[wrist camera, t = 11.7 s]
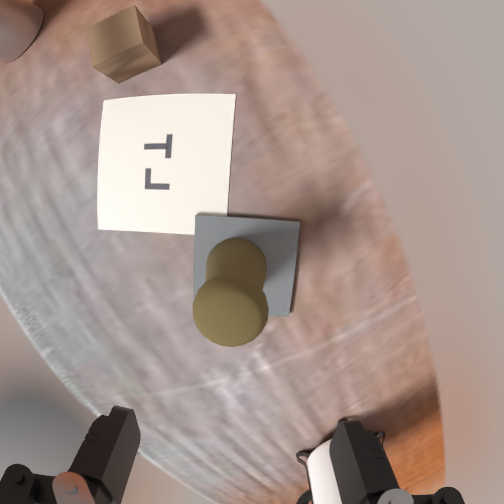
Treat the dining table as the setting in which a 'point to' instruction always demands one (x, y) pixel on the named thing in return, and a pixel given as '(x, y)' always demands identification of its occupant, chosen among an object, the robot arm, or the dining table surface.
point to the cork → (232, 294)
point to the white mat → (164, 161)
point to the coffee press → (322, 475)
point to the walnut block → (123, 45)
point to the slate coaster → (266, 238)
